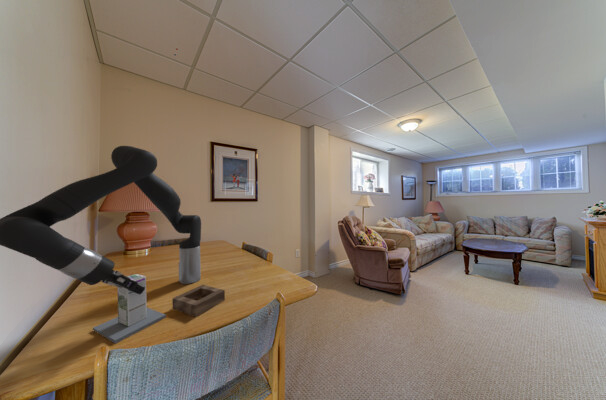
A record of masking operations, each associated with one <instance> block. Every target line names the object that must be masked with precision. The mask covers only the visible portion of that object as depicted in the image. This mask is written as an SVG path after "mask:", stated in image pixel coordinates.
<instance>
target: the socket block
mask: <svg viewBox="0 0 606 400" xmlns="http://www.w3.org/2000/svg"><path fill="white" fill-rule="evenodd" d="M225 295H226V291H225V290H224V289H223V288H217V287H213V286H209V285H206V284H201V285H198V286H196V287H194V288H192V289H190V290H188V291H186V292H183V293H181V294H178V295H177V296H175V297H172V309H173V310H174V311H177V312H181V313H184V314H186V315H188V316H192V317H194V318H197V317H199V316H200V315H201V314H204V313H205V312H207V311H209V310H210V309H212V308H213V307H215V306H217V305H219V304H221V303H222V302H224V301H225V300H226V297H225Z"/></svg>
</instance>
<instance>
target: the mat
mask: <svg viewBox="0 0 606 400" xmlns="http://www.w3.org/2000/svg"><path fill="white" fill-rule="evenodd" d="M163 319H167V314H165V313H162V312H160V311H157V310H155V309H152V308H149V307H147V318H145V319H143V320H141V321H139V322H137V323H135V324H133V325H131V326H125V325H123V324H120V323H118V316H117V317H114V318H112V319H109V320H107V321H105V322H102V323H100V324H97V325H95V326H93V327H92V331H93V330H94V331H96V332H98V333H99V334H101V335H103V336H104V337H106V338H107V339H106V338H105V339H106V340H108V339H109V340H110V342H111V341H112V342H111V343H113V344H115V345H116V344H118V343H120V342H122V341H123V339H124V340H125V338H126V339H127V338H130V337H131V336H133V335H135V334H137V333H139V332H140V331H143V330H145V329H147V328H149V327H151V326H152V325H154V324H156V323H158V322H160V321H162V320H163ZM94 331H93V332H94ZM96 332H95V333H96ZM98 333H97V334H98ZM99 334H98V335H99ZM101 335H100V336H101ZM103 336H102V337H103ZM104 337H103V338H104ZM109 340H108V341H109Z"/></svg>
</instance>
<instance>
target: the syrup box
mask: <svg viewBox="0 0 606 400" xmlns="http://www.w3.org/2000/svg"><path fill="white" fill-rule="evenodd" d="M126 276H127V277H129V278H130V279H131V280H133V281H135V282H137V283H138V285H140V286H142V287H144V288H145V290H144V291H143V292H142V293H141V294H137V293H135V292H133V291H129V290H128V289H125V288H121V289H120V288H118V287H117V317H118V323H120V324H123V325H125V326H131V325H133V324H135V323H137V322H139V321H141V320H143V319H145V318H147V308H148V307H147V276H146V275H142V274H138V273H134V274H130V275H126ZM130 284H131V282H130V283H129V284H128V285H127V287H129V286H130Z"/></svg>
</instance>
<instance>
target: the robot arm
mask: <svg viewBox="0 0 606 400" xmlns="http://www.w3.org/2000/svg"><path fill="white" fill-rule="evenodd" d="M111 163H112V164H113V166H114V167H115V168H113V169H112V170H110V171H107V172H104V173H102V174H98V175H94V176H91V177H90V176H89V177H87V178H83V179H79V180H76V181H74V182H72V183H69V184H67V185H65V186H63V187H61V188H58V189H57V190H55V191H53V192H51V193H50V194H48V195H46V196H44V197H43V198H41V199H39V200H38V201H36V202H34V203H32V204H31V203H30V205H27V206H25V207H22V208H19V209H18V210H15V211H13V212H11V213H8V214H7V215H5V216H3V217H0V246H2V247H4V248H7V249H9V250H12V251H14V252H18V253H20V254H22V255H25V256H28V257H30V258H33V259H35V260H36V261H38V262H39V263H41V264H43V265H45V266H48V267H50V268H51V269H54V270H57V271H59V272H61V273H62V274H63V275H66V276H68V277H70V278H72V279H75V280H77V281H80V282H82V283H85V284H87V285H89V286H94V285H96V284H99V283H103V284H105V285H108V286H114V287H116V288H117V289H118V288H120V289H121V288H125V289H128V290H129V291H133V292H135V293H137V294H141V293H142V292H143V291H144V290H145V288H144V287H142V286H140V285H138V283H137V282H135V281H133V280H131V279H130V278H129V277H127V276H128V275H125V274H122V272H121V271H118V270H114V268H115V264H116V263H115V262H114V260H111V259H109V258H108V257H106V256H104V255H103V254H100V253H98V251H97V252H96V250H93V249H91V248H88V247H85V246H83V245H82V244H79V243H78V242H76V241H75V240H72V239H69V238H67V237H65V236H63V235H62V234H61V233H59V232H58V231H57V230H55V229H53V228H51V227H52V226H53V225H55V224H57V223H59V222H62V221H66V220H68V219H71V218H72V217H74V216H76V215H77V214H78V213H80V212H82V211H83V210H85V209H86V208H88V207H90V206H91V205H92V204H94V203H97V201H99V200H101V199H103V198H105V197H106V196H108V195H110V194H112V193H114V192H117V191H118V190H121V189H123V188H125V187H126V186H129V185H131V184H132V183H133V184H135V186H137V187H138V189H139V190H140V191H141V192H142V193H143V194H144V195H145V197H147V199H148V200H149V201H150V202H151V203H152V204H153V205H154V206H155V207H156V208H157V209H158V210H159V211H160V213H162V214H163V216H165V218H166V219H167V220H168V222H170V224H171V226H172V227H173V228H174V230H175V231H176V232H177V233H179V234H184V235H185V234H189V237H188V238H187V239H184V240H181V241H179V243H178V246H179V248H178V249H179V250H178V251H179V253H178V254H179V262H178V282H179V283H180V284H183V285H189V284H194V283H196V282H198V281H200V280H201V275H202V274H201V240H202V219H201V216H199V214H198V215H196V214H189V215H187V214H186V215H185V214H182V213H181V212H180V211H179V210H180V208H181V198H180V196H179V194H178V193H177V192H176V191H175V189H174V188H173V187H172V186H171V185H170V184H168V183H167V182H166V181H165V180H163V179H162V178H160V177H159V176H158V175H156V174H155V173H154V172H155V171H156V169H157V167H158V159H157V157H156V155H154V154H153V153H152V152H151V151H148V150H146V149H143V148H139V147H135V146H132V145H131V146H129V145H119V146H117V147H116V146H115V148H114V149H113V150H112V152H111ZM130 282H131V284H130V286H129V287H127V285H128V284H129V283H130Z"/></svg>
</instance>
